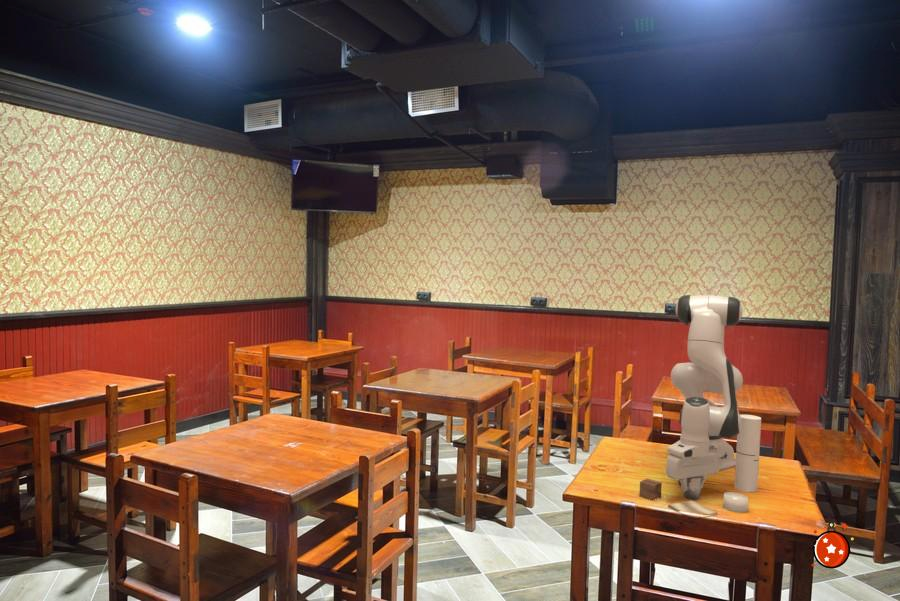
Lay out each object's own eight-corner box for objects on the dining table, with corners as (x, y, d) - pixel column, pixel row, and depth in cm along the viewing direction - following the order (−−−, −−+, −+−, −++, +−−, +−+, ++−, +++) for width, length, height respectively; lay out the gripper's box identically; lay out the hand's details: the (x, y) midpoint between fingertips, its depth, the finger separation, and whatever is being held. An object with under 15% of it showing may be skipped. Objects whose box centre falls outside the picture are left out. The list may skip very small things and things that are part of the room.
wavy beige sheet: (691, 503, 194) (692, 500, 194) (717, 514, 185) (717, 512, 185) (668, 507, 190) (668, 504, 190) (692, 519, 181) (692, 516, 181)
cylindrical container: (730, 484, 213) (734, 414, 212) (751, 485, 213) (755, 414, 212) (739, 491, 206) (743, 419, 205) (761, 492, 206) (765, 419, 205)
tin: (691, 493, 202) (692, 473, 202) (703, 498, 198) (704, 477, 198) (680, 495, 200) (681, 474, 200) (691, 500, 196) (692, 479, 196)
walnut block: (646, 493, 202) (647, 478, 202) (661, 497, 198) (661, 482, 198) (639, 496, 198) (640, 481, 198) (653, 501, 195) (654, 485, 195)
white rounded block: (733, 503, 195) (734, 491, 195) (752, 511, 189) (753, 498, 189) (718, 506, 192) (718, 493, 192) (736, 514, 186) (737, 501, 186)
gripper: (709, 442, 206) (707, 482, 206) (663, 447, 197) (661, 489, 198) (725, 447, 200) (722, 488, 200) (678, 453, 191) (676, 496, 192)
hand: (692, 489), depth 199 cm, fingers closed on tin, 5 cm apart
